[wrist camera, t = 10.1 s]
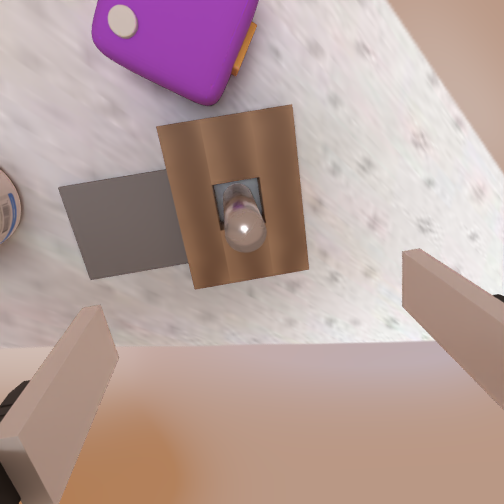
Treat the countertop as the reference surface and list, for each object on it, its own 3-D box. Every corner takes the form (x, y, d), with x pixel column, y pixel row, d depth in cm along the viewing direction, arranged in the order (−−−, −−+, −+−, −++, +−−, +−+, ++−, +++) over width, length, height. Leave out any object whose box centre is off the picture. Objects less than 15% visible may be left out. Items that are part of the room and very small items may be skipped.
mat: (91, 278, 38) (90, 280, 38) (59, 187, 35) (58, 187, 34) (201, 259, 39) (201, 260, 38) (181, 166, 35) (180, 167, 35)
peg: (226, 214, 37) (228, 255, 26) (220, 186, 36) (221, 216, 25) (254, 209, 37) (269, 248, 26) (249, 181, 36) (263, 209, 25)
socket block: (196, 277, 39) (194, 289, 36) (161, 125, 34) (156, 126, 31) (302, 258, 40) (309, 269, 37) (286, 105, 34) (292, 104, 31)
